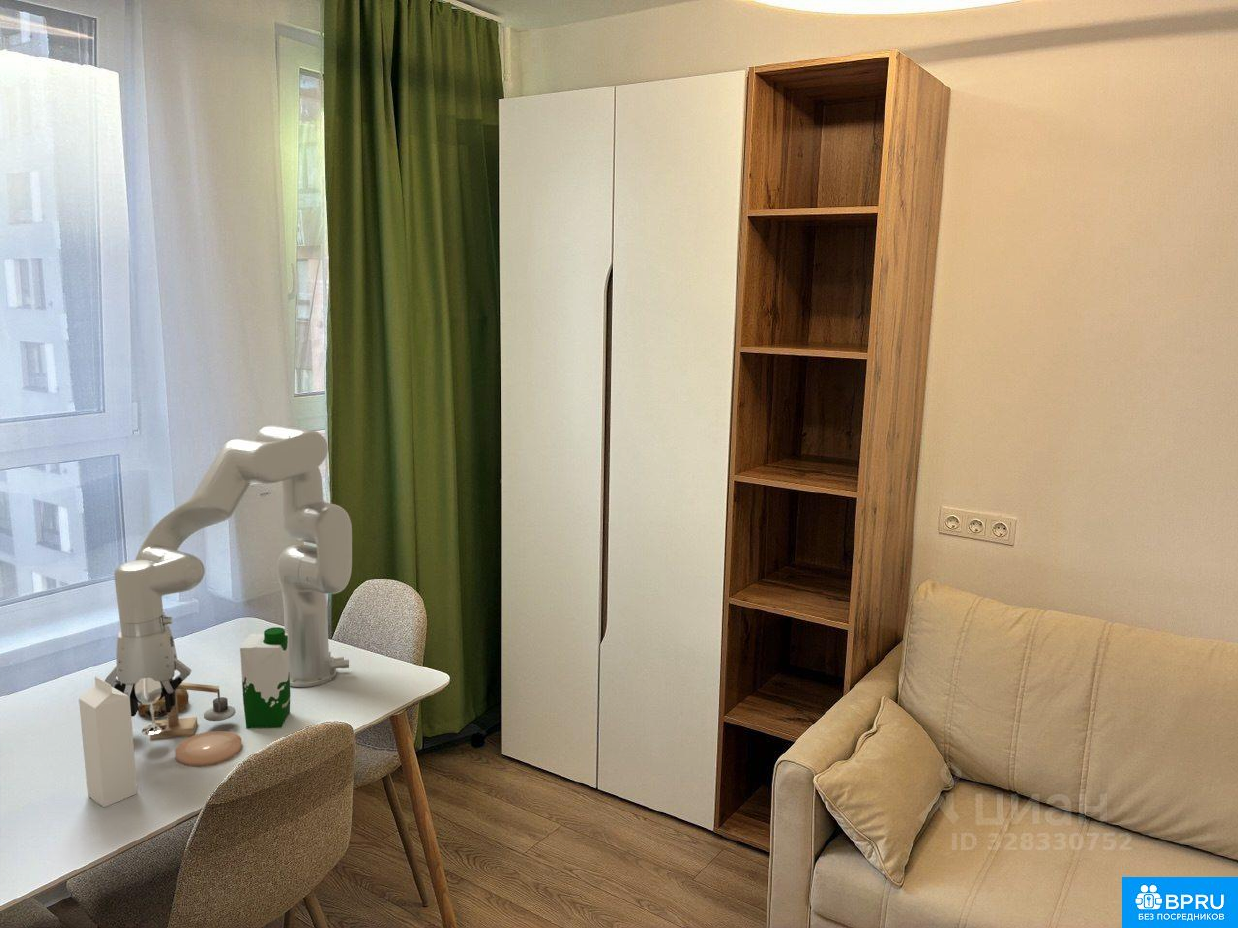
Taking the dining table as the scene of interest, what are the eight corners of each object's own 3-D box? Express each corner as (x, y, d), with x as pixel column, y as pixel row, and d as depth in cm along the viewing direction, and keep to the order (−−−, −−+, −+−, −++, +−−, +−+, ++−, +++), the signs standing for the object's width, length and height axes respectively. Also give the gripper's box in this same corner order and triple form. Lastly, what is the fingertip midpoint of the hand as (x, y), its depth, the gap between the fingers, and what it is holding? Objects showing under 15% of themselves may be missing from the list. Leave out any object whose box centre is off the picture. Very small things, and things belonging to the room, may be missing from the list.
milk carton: (284, 729, 193) (280, 638, 189) (239, 730, 192) (234, 639, 188) (295, 710, 202) (291, 622, 198) (252, 711, 201) (247, 623, 197)
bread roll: (194, 721, 203) (203, 684, 205) (159, 721, 194) (169, 682, 196) (158, 713, 207) (168, 676, 208) (122, 712, 197) (132, 674, 199)
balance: (237, 718, 197) (234, 663, 195) (234, 732, 192) (230, 675, 189) (114, 730, 191) (109, 672, 189) (106, 744, 185) (101, 685, 183)
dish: (245, 733, 191) (244, 727, 191) (238, 762, 180) (237, 756, 180) (181, 739, 188) (181, 733, 188) (170, 769, 177) (169, 763, 177)
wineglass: (176, 722, 187) (170, 667, 184) (159, 737, 181) (153, 680, 178) (149, 721, 187) (142, 665, 184) (131, 735, 182) (124, 678, 179)
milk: (121, 782, 172) (112, 670, 168) (138, 793, 169) (129, 679, 164) (86, 796, 167) (76, 681, 163) (103, 808, 164) (93, 690, 160)
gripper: (194, 613, 185) (202, 697, 189) (98, 621, 180) (108, 707, 184) (187, 628, 178) (196, 715, 182) (87, 637, 173) (98, 725, 177)
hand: (152, 710), depth 183 cm, fingers closed on wineglass, 5 cm apart
